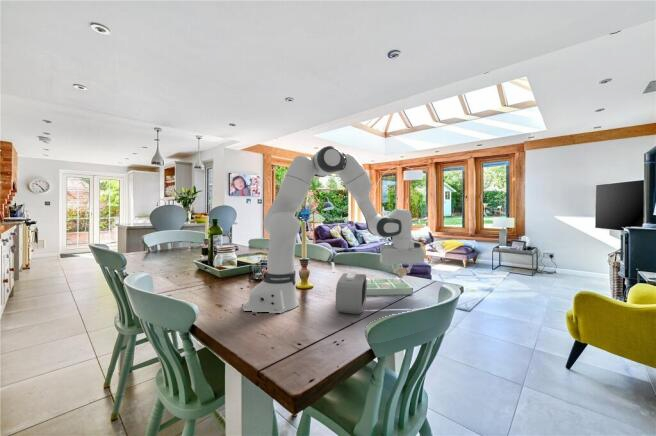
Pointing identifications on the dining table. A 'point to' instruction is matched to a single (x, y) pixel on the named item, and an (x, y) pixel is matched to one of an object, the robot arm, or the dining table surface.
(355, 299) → the alarm clock
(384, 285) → the cream egg
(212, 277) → the dining table surface
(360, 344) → the dining table surface
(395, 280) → the cream egg
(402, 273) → the brown egg
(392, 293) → the egg tray
